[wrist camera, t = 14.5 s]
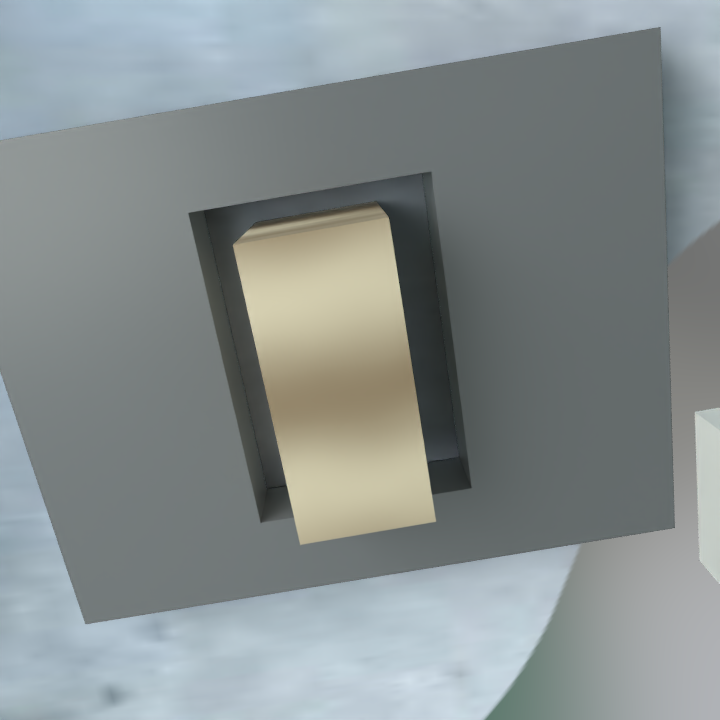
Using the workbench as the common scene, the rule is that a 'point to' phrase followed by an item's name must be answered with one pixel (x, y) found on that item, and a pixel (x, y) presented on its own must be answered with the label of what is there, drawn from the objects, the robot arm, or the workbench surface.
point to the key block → (337, 370)
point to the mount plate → (456, 301)
